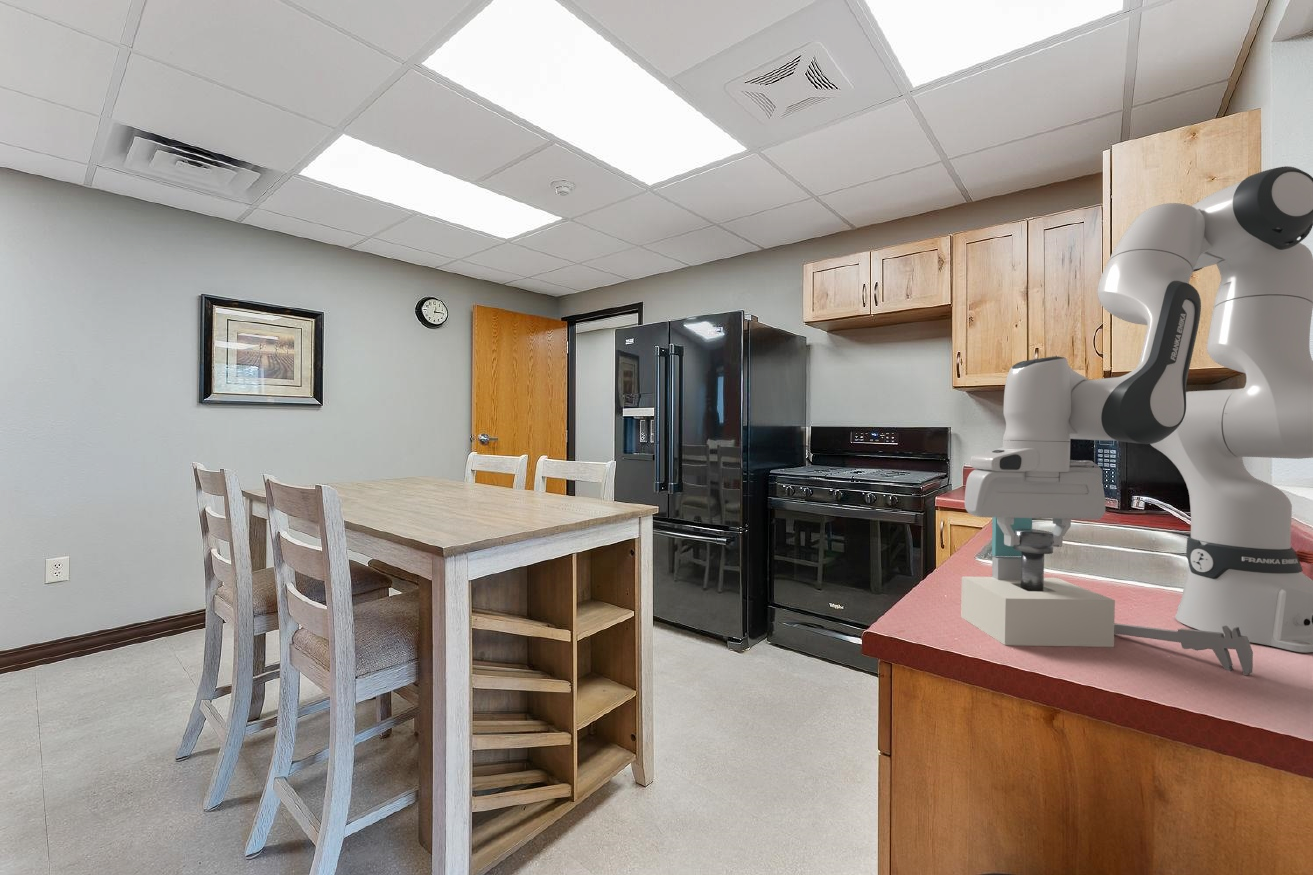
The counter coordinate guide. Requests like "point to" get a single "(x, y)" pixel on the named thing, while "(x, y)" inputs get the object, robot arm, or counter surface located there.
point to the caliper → (1200, 642)
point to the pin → (1033, 556)
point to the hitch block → (1036, 610)
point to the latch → (998, 537)
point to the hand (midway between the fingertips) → (1032, 546)
